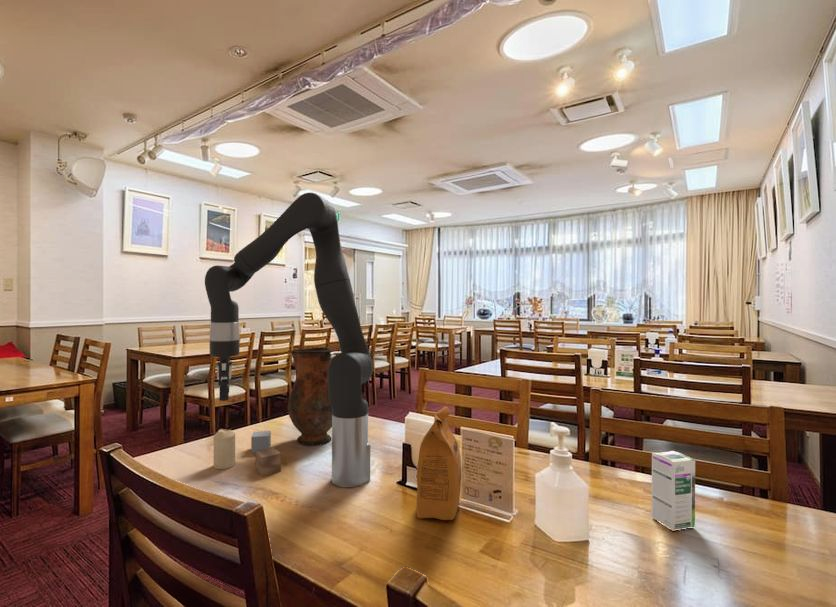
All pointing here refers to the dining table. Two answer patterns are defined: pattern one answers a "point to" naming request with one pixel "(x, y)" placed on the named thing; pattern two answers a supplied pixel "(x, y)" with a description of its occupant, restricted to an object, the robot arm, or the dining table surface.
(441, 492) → the coffee package
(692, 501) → the syrup box
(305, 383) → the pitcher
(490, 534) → the dining table surface
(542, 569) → the dining table surface
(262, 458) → the walnut block
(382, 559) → the dining table surface
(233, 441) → the candle
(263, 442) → the slate block
